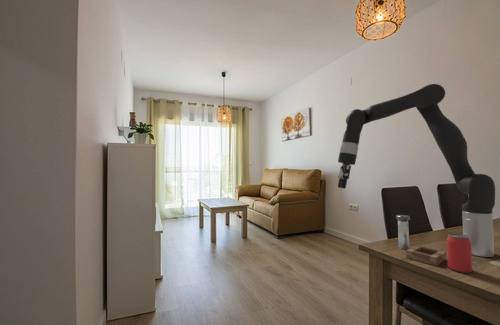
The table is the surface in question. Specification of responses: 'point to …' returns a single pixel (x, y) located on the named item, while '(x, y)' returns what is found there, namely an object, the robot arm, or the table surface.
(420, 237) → the table surface
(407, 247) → the pin
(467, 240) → the beer can
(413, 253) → the socket block
